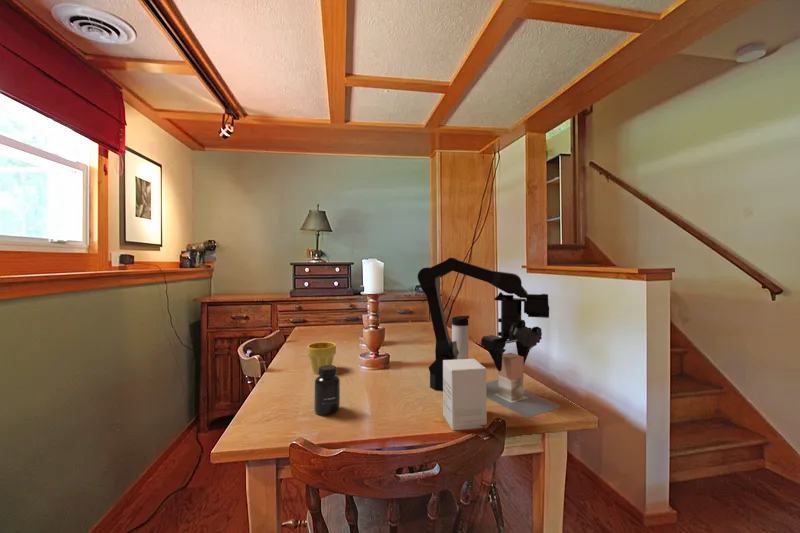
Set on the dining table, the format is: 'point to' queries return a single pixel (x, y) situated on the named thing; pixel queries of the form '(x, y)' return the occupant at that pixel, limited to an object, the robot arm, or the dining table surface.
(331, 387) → the supplement bottle
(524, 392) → the build board
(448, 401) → the supplement box
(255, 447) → the dining table surface
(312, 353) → the plant pot
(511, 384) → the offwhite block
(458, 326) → the travel mug
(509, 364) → the terracotta block
